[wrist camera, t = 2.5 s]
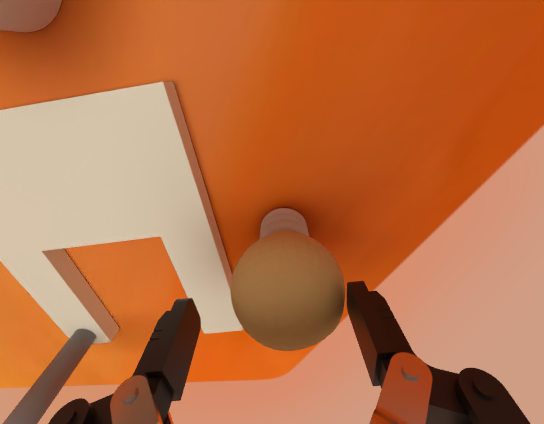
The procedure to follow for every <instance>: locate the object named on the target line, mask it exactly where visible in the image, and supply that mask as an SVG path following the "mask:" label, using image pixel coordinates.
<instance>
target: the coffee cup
mask: <svg viewBox="0 0 544 424" xmlns="http://www.w3.org/2000/svg"><path fill="white" fill-rule="evenodd" d="M61 3H62V0H0V30H3V31H14V32H34V31H38V30H40V29H42V28H44V27H46V26H47V25H49V24H50V23H51V22H52V21H53V19H54V18H55V17H56V15H57V13H58V11H59V9H60V6H61Z"/></svg>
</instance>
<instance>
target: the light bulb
mask: <svg viewBox="0 0 544 424" xmlns="http://www.w3.org/2000/svg"><path fill="white" fill-rule="evenodd" d="M230 292H231V301H232V306H233V309H234V312H235V315H236V317H237V319H238V320H239V322H240V324H241V325H242V326H243V328H244V329H245V330H246V332H247V333H248V334H249V335H250V336H251V337H253V338H254V339H255V340H256V341H257V342H259V343H261V344H262V345H264V346H266V347H269V348H272V349H274V350H282V351H293V350H299V349H304V348H307V347H309V346H312V345H315V344H317V343H318V342H320V341H322V340H324V339H325V338H326V337H327V336H328V335H330V334H331V333H332V332H333V331H334V330H335V328H336V327H337V325H338V323H339V321H340V319H341V316H342V314H343V308H344V301H345V287H344V280H343V276H342V273H341V271H340V268H339V266H338V263H337V262H336V260H335V258H334V257H333V256H332V254H331V253H330V252H329V250H328V249H326V248H325V247H324V246H323V245H322V244H321V243H319V242H318V241H317V240H315V239H313V238H311V237H309V233H308V229H307V224H306V221H305V219H304V217H303V216H302V215H301V214H300V213H299V212H297V211H295V210H293V209H289V208H278V209H275V210H273V211H271V212H269V213H268V214H267V215H266V216H265V217H264V218H263V220H262V223H261V227H260V239H259V240H257V241H256V242H254V243H253V244H252V245H251V246H250V247H249V248H248V249H247V250H246V251H245V252H244V253H243V254H242V256H241V257H240V259H239V261H238V262H237V264H236V267H235V269H234V272H233V275H232V280H231V289H230Z"/></svg>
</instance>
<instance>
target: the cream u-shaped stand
mask: <svg viewBox="0 0 544 424" xmlns="http://www.w3.org/2000/svg"><path fill="white" fill-rule="evenodd" d="M159 236H160V237H161V239H162V241H163V243H164V246H165V248H166V250H167V252H168V254H169V257H170V259H171V261H172V263H173V266H174V268H175V270H176V272H177V274H178V277H179V279H180V281H181V283H182V286H183V288H184V290H185V292H186V294H187V297H188V298H192V299H193V301H194V303H195V305H196V308H197V310H198V313H199V315H200V318H201V328H202V330H203V332H204V334H207V333H218V332H229V331H240V330H243V326H242V325H241V324H240V322H239V320H238V319H237V317H236V315H235V312H234V309H233V306H232V301H231V292H230V289H231V280H232V273H231V270H230V266H229V263H228V260H227V256H226V253H225V250H224V247H223V243H222V240H221V237H220V233H219V230H218V227H217V224H216V220H215V217H214V214H213V211H212V207H211V204H210V201H209V197H208V194H207V191H206V188H205V184H204V181H203V178H202V174H201V171H200V168H199V165H198V161H197V158H196V155H195V151H194V148H193V145H192V142H191V138H190V135H189V132H188V128H187V125H186V122H185V119H184V115H183V112H182V109H181V105H180V102H179V99H178V96H177V92H176V89H175V86H174V82H173V81H172V82H158V83H153V84H147V85H141V86H135V87H130V88H124V89H118V90H113V91H107V92H101V93H95V94H90V95H84V96H78V97H73V98H67V99H61V100H55V101H50V102H44V103H38V104H33V105H27V106H21V107H15V108H10V109H4V110H0V261H1V262H2V263H3V265H4V266H5V267H6V268H7V269H8V270H9V271H10V272H11V274H12V275H13V276H14V277H15V278H16V279H17V280H18V281H19V283H20V284H21V285H22V286H23V287H24V288H25V289H26V290H27V292H28V293H29V294H30V295H31V296H32V297H33V298H34V299H35V301H36V302H37V303H38V304H39V305H40V306H41V307H42V308H43V310H44V311H45V312H46V313H47V314H48V315H49V316H50V317H51V319H52V320H53V321H54V322H55V323H56V324H57V325H58V326H59V327H60V329H61V330H62V331H63V332H64V333H65V334H66V335H67V336H68V338H69V340H68V341H67V343H66V344H65V345H64V346H63V348H62V349H61V350H60V351H59V353H58V354H57V355H56V357H55V358H54V359H53V360H52V362H51V363H50V364H49V365H48V367H47V368H46V369H45V371H44V372H43V373H42V374H41V376H40V377H39V378H38V379H37V381H36V382H35V383H34V385H33V386H32V387H31V388H30V390H29V391H28V392H27V393H26V395H25V396H24V397H23V399H22V400H21V401H20V402H19V404H18V405H17V406H16V408H15V409H14V410H13V411H12V413H11V414H10V415H9V416H8V418H7V419H6V420H5V421H4V423H3V424H37V423H38V422H39V420H40V419H41V418H42V416H43V414H44V413H45V412H46V410H47V409H48V407H49V406H50V404H51V403H52V401H53V400H54V399H55V397H56V396H57V394H58V393H59V391H60V390H61V388H62V387H63V385H64V384H65V383H66V381H67V380H68V378H69V377H70V375H71V374H72V372H73V371H74V369H75V368H76V367H77V365H78V364H79V362H80V361H81V359H82V358H83V356H84V355H85V353H86V352H87V350H88V349H89V348H90V346H91V345H92V344H96V343H107V342H111V341H112V340H113V338H114V337H115V335H116V333H117V332H118V330H119V329H120V328H119V327H118V325H117V324H116V322H115V321H114V319H113V318H112V317H111V315H110V314H109V312H108V311H107V310H106V308H105V307H104V305H103V304H102V302H101V301H100V300H99V298H98V297H97V295H96V294H95V292H94V291H93V290H92V288H91V287H90V285H89V284H88V283H87V281H86V280H85V278H84V277H83V275H82V274H81V273H80V271H79V270H78V268H77V267H76V266H75V264H74V263H73V261H72V260H71V258H70V257H69V256H68V254H67V253H66V251H65V250H64V248H70V247H78V246H86V245H94V244H102V243H110V242H118V241H127V240H135V239H143V238H151V237H159Z"/></svg>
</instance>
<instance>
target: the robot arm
mask: <svg viewBox="0 0 544 424" xmlns="http://www.w3.org/2000/svg"><path fill="white" fill-rule="evenodd" d="M347 309H348V314H349V317H350V320H351V323H352V326H353V329H354V332H355V335H356V338H357V341H358V344H359V346H360V349H361V352H362V355H363V358H364V361H365V364H366V367H367V370H368V373H369V376H370V379H371V382H372V385H373V386H379V385H380V386H381V389H382V390H381V393H380V396H379V400H378V403H377V406H376V409H375V410H374V413H373V415H372V418H371V421H370V424H530V422H529V421H528V420H527V418H526V417H525V415H524V414H523V413H522V411H521V410H520V408H519V407H518V406H517V404H516V403H515V401H514V400H513V398H512V397H511V395H510V394H509V393H508V391H507V390H506V389H505V387H504V386H503V385H502V384H501V383H500V382H499V381H498V380H497V379H496V378H495V377H493V376H492V375H490V374H489V373H487V372H485V371H483V370H480V369H476V368H466V369H464V370H462V371H461V372H460V373H459V374H457V373H453V372H449V371H444V370H440V369H437V368H434V367H431V366H429V365H427V364H426V363H424V362H423V361H422V360H421V359H420V358H418V357H417V356H416V355H415V354H414V352H413V351H412V349H411V347H410V345H409V343H408V341H407V339H406V338H405V336H404V334H403V332H402V330H401V328H400V326H399V324H398V323H397V321H396V319H395V318H394V315H393V313H392V311H391V310H390V307H389V306H388V304H387V302H386V300H385V298H384V297H382V296H381V295H380V294H379V293H378V292H377V291H368V289H367V287H366V285H365V283H364V282H363V281H357V282H348V283H347ZM200 328H201V318H200V315H199V313H198V310H197V308H196V305H195V303H194V301H193V299H192V298H186V299H177V300H176V301H175V302H174V305H173V307H172V309H171V311H166V312H165V313H164V314H163V316H162V317H161V318H160V319H159V320H158V322H157V324H156V327H155V329H154V332H153V333H152V335H151V337H150V341H149V342H148V344H147V346H146V348H145V350H144V353H143V355H142V357H141V359H140V361H139V363H138V365H137V368H136V370H135V372H134V374H133V376H132V377H130V378H129V379H127V380H125V381H124V382H123V383H122V384H121V385H120V386H119V387H118V388H117V390H116V391H115V392H114V393H113V394H112V395H109V396H107V397H105V398H102V399H100V400H97V401H95V402H93V403H90V404H89V403H88V402H87V401H86V400H85V399H82V398H81V399H75V400H73V401H71V402H69V403H67V404H66V405H65V406H63V407H62V408H61V409H60V410H59V411H58V412H57V413H56V414H55V415H54V416H53V418H52V419H51V420H50V422H49V424H173V421H172V418H171V415H170V412H169V408H170V405H171V401H179V400H181V397H182V393H183V389H184V386H185V383H186V379H187V375H188V372H189V368H190V365H191V361H192V357H193V354H194V350H195V347H196V343H197V339H198V336H199V332H200Z"/></svg>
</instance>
